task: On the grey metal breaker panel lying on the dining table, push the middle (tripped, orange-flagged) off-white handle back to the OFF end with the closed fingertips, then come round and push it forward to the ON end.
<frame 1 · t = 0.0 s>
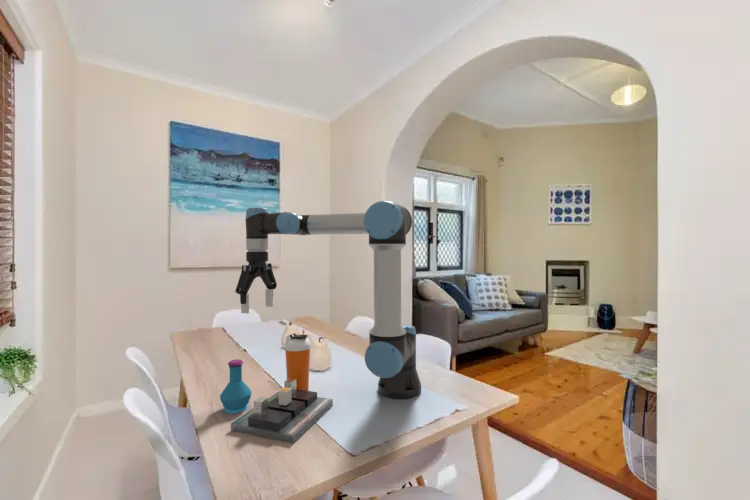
hand: (257, 309, 129), 28 cm above the table, fingers open, 13 cm apart
shaker bottle: (298, 392, 125), on the table
breaker handle: (285, 395, 107), point 6 cm above the table, slide at 0.0 cm
panel: (285, 417, 107), on the table
perfume bottle: (236, 409, 113), on the table
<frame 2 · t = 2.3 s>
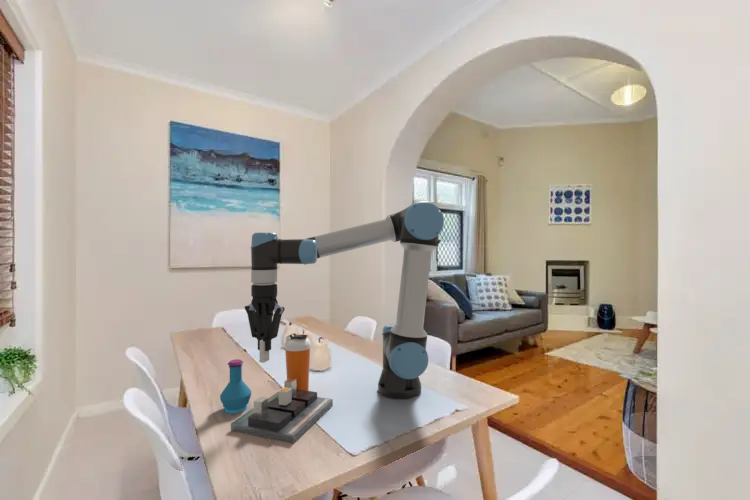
hand: (264, 361, 109), 16 cm above the table, fingers closed
nothing on the table moved.
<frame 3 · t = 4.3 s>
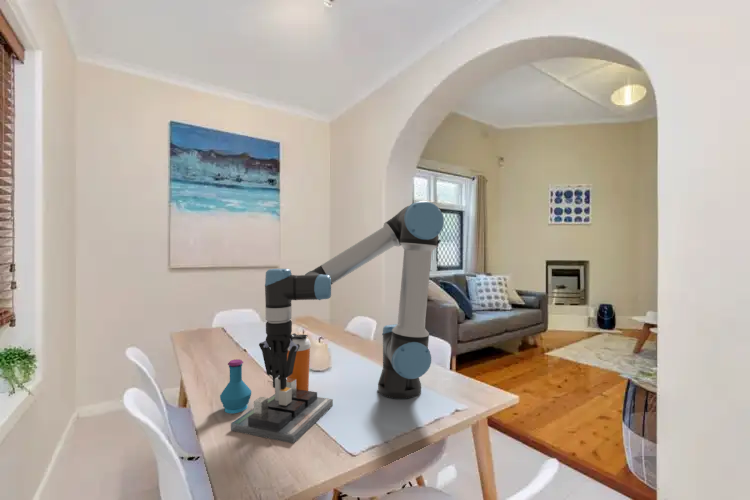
hand: (279, 398, 108), 5 cm above the table, fingers closed
breaker handle: (285, 395, 107), point 6 cm above the table, slide at 0.0 cm, touching gripper
everything else where it was.
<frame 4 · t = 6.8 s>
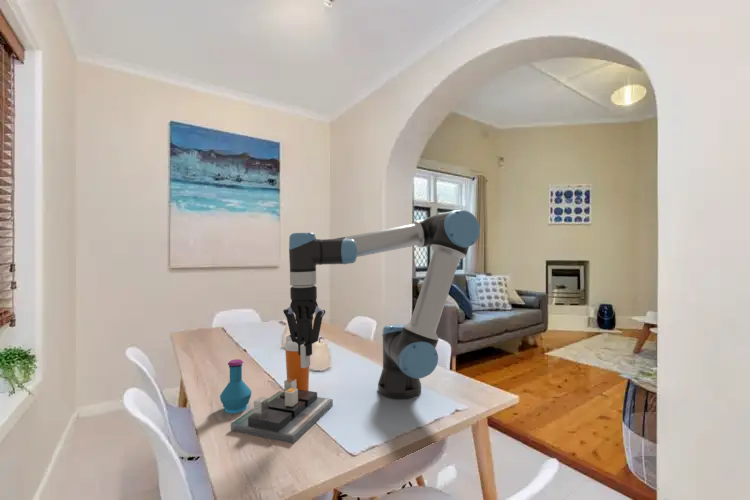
hand: (305, 366, 105), 16 cm above the table, fingers closed
breaker handle: (291, 396, 106), point 6 cm above the table, slide at -2.1 cm
everything else where it was.
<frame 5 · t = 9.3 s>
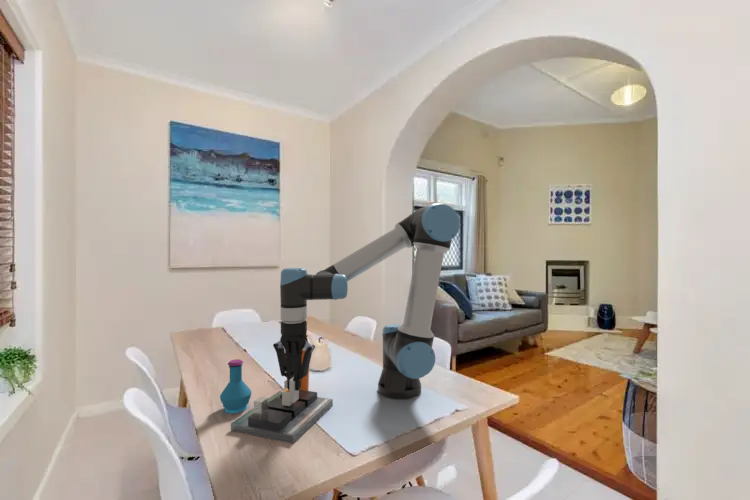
hand: (294, 400, 106), 6 cm above the table, fingers closed
breaker handle: (288, 396, 106), point 6 cm above the table, slide at -1.2 cm, touching gripper
everything else where it was.
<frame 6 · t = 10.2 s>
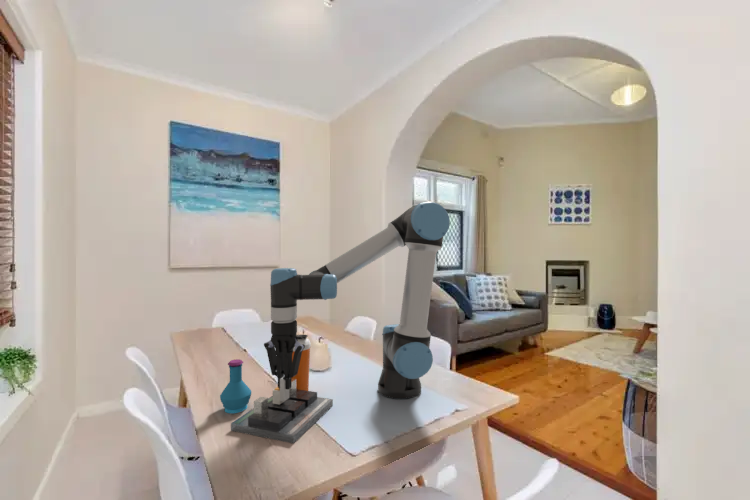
hand: (284, 399, 107), 5 cm above the table, fingers closed
breaker handle: (279, 394, 108), point 6 cm above the table, slide at 2.1 cm, touching gripper
everything else where it was.
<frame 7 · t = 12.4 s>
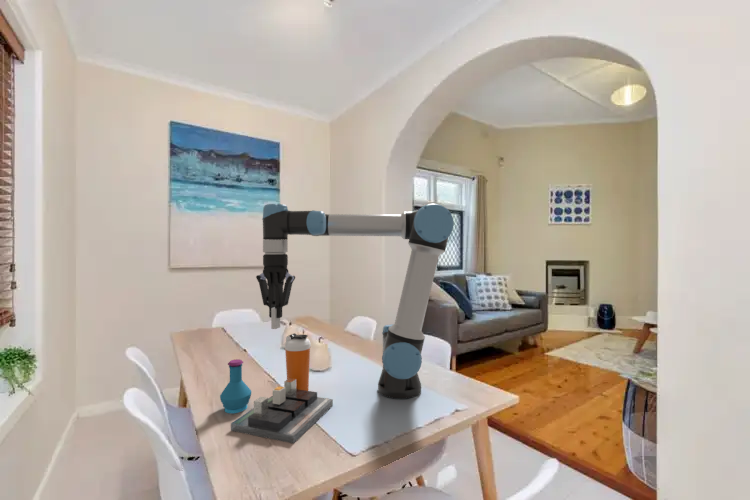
hand: (275, 327, 114), 25 cm above the table, fingers closed
breaker handle: (279, 394, 108), point 6 cm above the table, slide at 2.1 cm
everything else where it was.
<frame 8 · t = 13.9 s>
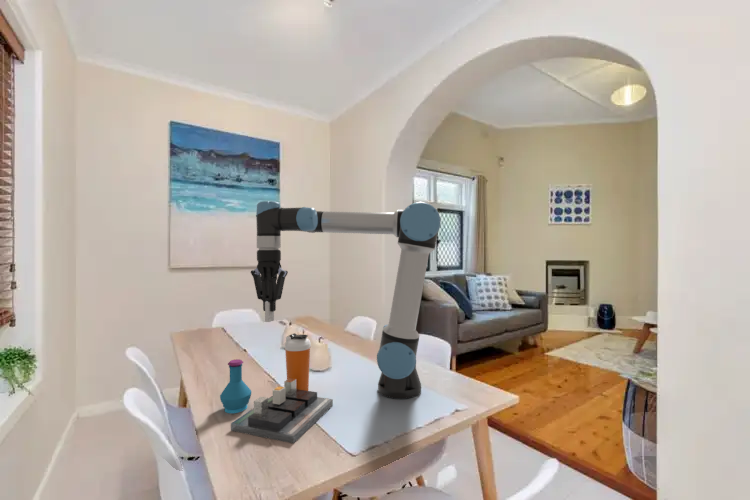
hand: (269, 321, 118), 26 cm above the table, fingers closed
nothing on the table moved.
at the end: breaker handle slide at 2.1 cm; the gripper is holding nothing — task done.
